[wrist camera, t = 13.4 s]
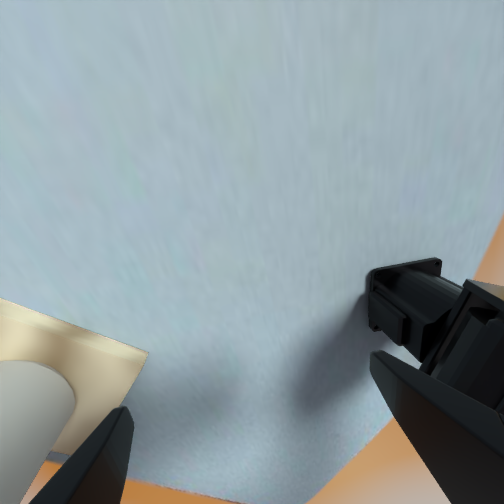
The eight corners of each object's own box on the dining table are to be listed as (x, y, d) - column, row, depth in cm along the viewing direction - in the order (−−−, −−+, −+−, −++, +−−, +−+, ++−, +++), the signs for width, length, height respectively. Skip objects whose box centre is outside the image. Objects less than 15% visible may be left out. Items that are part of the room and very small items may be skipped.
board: (-77, 399, 21) (-99, 417, 19) (-37, 284, 18) (-58, 294, 17) (95, 442, 25) (87, 459, 23) (148, 352, 22) (143, 365, 21)
